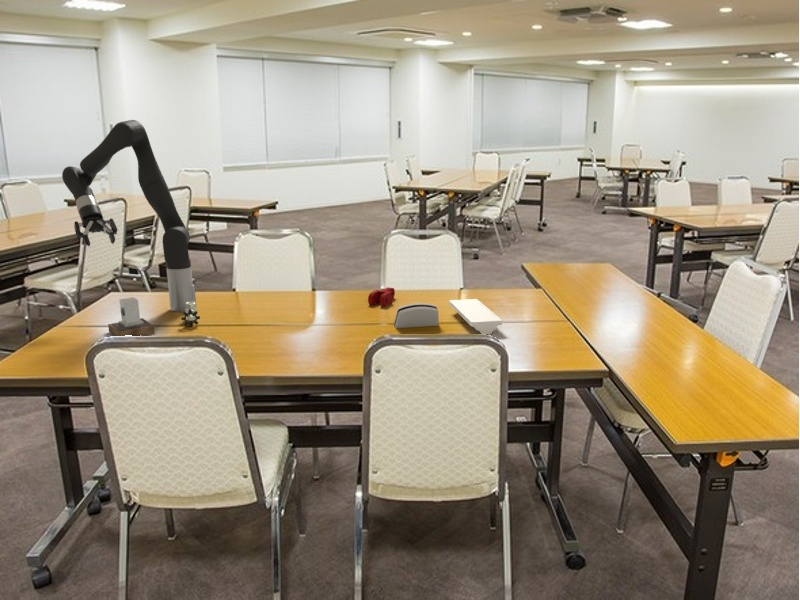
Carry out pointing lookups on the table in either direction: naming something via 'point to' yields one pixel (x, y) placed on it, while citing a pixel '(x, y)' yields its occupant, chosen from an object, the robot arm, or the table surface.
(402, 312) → the grey napkin holder
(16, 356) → the table surface
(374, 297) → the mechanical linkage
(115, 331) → the stand
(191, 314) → the valve
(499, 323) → the shelf
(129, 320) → the block
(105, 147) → the robot arm
